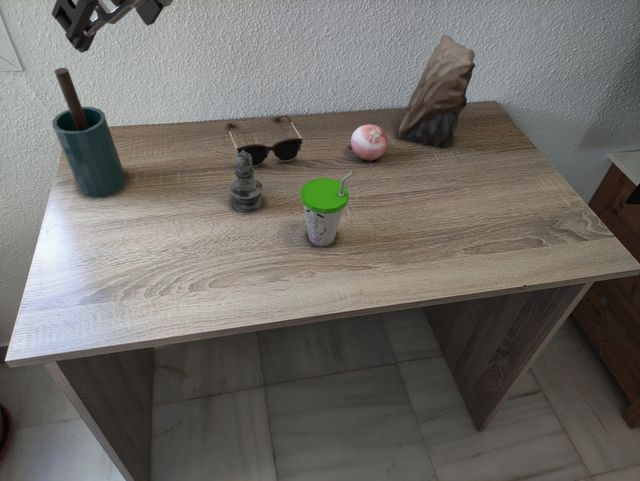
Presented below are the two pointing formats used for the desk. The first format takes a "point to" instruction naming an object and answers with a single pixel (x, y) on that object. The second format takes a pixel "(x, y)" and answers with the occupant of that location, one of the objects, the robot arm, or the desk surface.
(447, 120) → the brown rock
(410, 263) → the desk surface
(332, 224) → the cup
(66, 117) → the pencil holder
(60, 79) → the brush
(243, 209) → the chess piece
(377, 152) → the pink round piece
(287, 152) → the sunglasses
